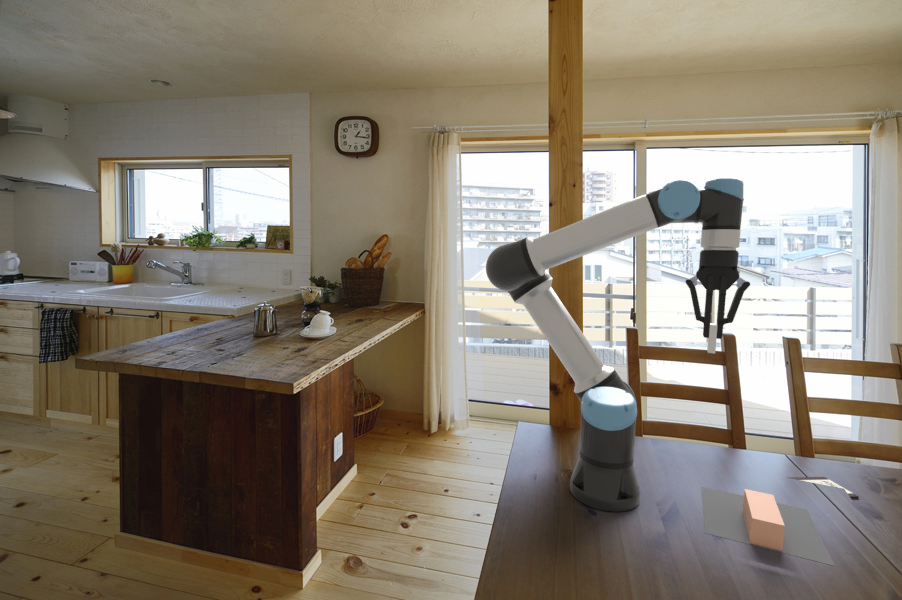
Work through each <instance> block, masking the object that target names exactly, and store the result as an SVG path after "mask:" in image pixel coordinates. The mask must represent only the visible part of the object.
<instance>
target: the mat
mask: <svg viewBox="0 0 902 600" xmlns="http://www.w3.org/2000/svg"><path fill="white" fill-rule="evenodd" d="M700 489H701V499H702V500H701V501H702V511H703V521H704V522H703V523H704V526H703V527H704V533H705V534H706V535H711V536H715V537H719V538H723V539H725V540H726V539H727V540H731V541H734V542H739V543H743V544H747V545H750V546H754V547H758V548H763V549H766V550H768V551H769V550H771V551H774V552H777V553H782V554H785V555H788V556H789V555H790V556H793V557H797V558H801V559H806V560H810V561H813V562H817V563H821V564H825V565H830V566H833V567H835V564H834V562H833V560H832V557H831V556H830V553H829V552H828V550H827V547H826V546H825V544H824V541H823V539H822V537H821V536H820V533H819V531H818V529H817V527H816V524H815V523H814V521H813V519H812V517H811V515H810V512H809V511H808V508H803V507H798V506H795V505H789V504H784V503H780V502H776V504H777V506H778V509H779V512H780V514H781V517H782V520H783V522H784V525H785V529H784V539H783V549H782V551H780V550H776V549H772V548H768V547H764V546H760V545H756V544H752V543H750V540H749V536H748V532H747V527H746V523H745V519H744V515H743V502H744V494H743V495H741V494H738V493H734V492H728V491H725V490H718V489H714V488H709V487H705V486H701V487H700Z"/></svg>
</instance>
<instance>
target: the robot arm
mask: <svg viewBox="0 0 902 600" xmlns="http://www.w3.org/2000/svg"><path fill="white" fill-rule="evenodd" d="M744 200H745V198H744V182H743V180H742V179H740V178H738V177H737V178H736V177H721V178H712V179H708V180H707V181H706V182H705V185H704V186H703V188H700V189H699V188H698V187H697V185H696V184H695V183H694V182H692V181H690V180H686V179H676V180H674V181H672V180H671V182H668V183H667V184H665V185H664V186H662V187H659V188H658V189H655V190H651V191H649V192H648V193H646V194H643V195H640V196H638V197H635V198H633V199H630V200H628V201H626V202H623V203H620V204H619V205H615V206H613V207H611V208H608V209H606V210H602V211H601V212H598V213H596V214H594V215H591V216H588V217H586V218H584V219H580V220H579V221H575V222H574V223H571V224H568V225H566V226H564V227H561V228H559V229H556V230H553V231H551V232H549V233H546V234H544V235H542V236H538V237H536V238H532V237H530V236H528V237H525V238H523V239H520V240H517V241H515V242H514V241H513V242H511V243H506V244H503V245H500V246H498V247H496V248H494V249H493V250H492V251H491V253H490V254H489V256H488V257H487V260H486V263H485V273H486V276H487V279H488V281H489V282H490V283H491V285H493V286H494V287H495V288H496V289H499V290H501V291H505V292H507V293H508V294H509V296H510V297H511V299H512V301H513V302H514V304H519V305H522V306H524V308H525V309H526V310H527V312H528V315H530V317H531V318H532V320H533V322H534V323H535V324H536V326H537V327H538V329H539V330H540V332H541V333H542V335H543V336H544V338H545V340H546V341H547V343H548V344H549V345H550V347H551V349H552V350H553V352H554V353H555V354H556V356H557V357H558V359H559V361H560V362H561V363H562V365H563V367H564V368H565V370H566V371H567V372H568V374H569V375H570V377H571V378H572V380H573V381H574V388H573V389H574V390H573V392H574V394H575V395H576V397H577V399H578V400H579V401H580V412H581V415H580V416H581V417H580V435H579V436H580V437H579V455H578V459H577V461H576V464H575V466H574V469H573V472H572V474H571V475H570V480H569V481H570V482H569V490H570V493H571V494H572V497H574V498H575V499H576V500H577V501H579V502H581V503H582V504H584V505H586V506H588V507H591V508H593V509H596V510H600V511H604V512H605V511H606V512H613V513H614V512H617V513H618V512H627V511H631V510H633V509H634V508H636V507H637V506H638V505H639V504H640V499H641V498H640V497H641V490H640V486H639V481H638V477H637V475H636V472H635V468H634V458H635V444H636V442H635V441H636V439H635V438H636V425H637V424H636V423H637V418H638V407H637V398H636V395H635V393H634V390H633V389H632V387H631V386H630V385H629V384H628V383H627V382H626V381H624V380H623V379H622V377H620V375H619V374H618V372H617V371H616V370H615V368H614V367H612V366H609V365H605V364H604V362H603V361H602V360H601V358H600V357H599V355H598V354H597V352H596V351H595V349H594V348H593V347H592V345H591V344H590V342H589V340H588V339H587V337H586V336H585V334H583V332H582V330H581V329H580V327H579V326H578V324H577V323H576V321H575V319H573V317H572V316H571V314H570V312H569V311H568V310H567V308H566V306H565V305H564V304H563V301H561V299H560V297H559V296H558V295H557V292H555V290H554V289H553V287H552V284H553V280H554V279H553V277H552V276H551V275H552V274H550V273H549V269H552V268H555V267H558V266H560V265H562V264H565V263H567V262H570V261H573V260H575V259H579V258H581V257H583V256H586V255H588V254H589V255H590V254H592V253H594V252H598V251H599V250H603V249H606V248H608V247H610V246H613V245H615V244H619V243H621V242H623V241H626V240H628V239H629V240H630V239H632V238H634V237H636V236H640V235H642V234H645V233H648V232H650V231H652V230H655V229H658V228H661V227H664V226H667V225H669V224H682V223H683V224H685V223H687V224H688V223H690V224H691V223H692V224H693V223H694V224H697V223H699V224H701V225H702V227H701V238H700V247H701V248H703V249H701V251H700V252H699V260H698V261H699V263H698V270H697V271H696V273H695V275H694V276H691V277H690V278H686V280H685V284H686V285H687V287H688V288H689V291H690V296H691V297H690V298H691V301H692V307H693V310H694V317H695V320H696V321H698V322H701V323H703V327H702V328H703V330H702V336H703V338H707V350H706V352H707V354H714V355H715V354H716V349H717V339H719V340H721V339H722V338H723V332H724V326H725V325H726V324H731V323H733V322H734V320H735V317H736V314H737V312H738V309H739V306H740V303H741V301H742V299H743V295H744V293H745V292H746V290H747V289H749V287H750V286H751V283H750V281H747V280H745V279H743V278H742V277H740V273H739V270H738V264H739V253H740V252H738V250H737V249H738V248H740V243H741V242H740V241H741V227H742V226H741V225H742V216H743V206H744ZM698 281H699V282H700V284H701V285H702V287H704V289H705V290H706V291H705V300H704V301H705V302H704V314H703V315H702V313H701V309H700V303H699V297H698V293H697V288H696V287H697V285H698ZM735 283H736V288H737V289H736V290H735V294H734V295H733V299H732V302H731V303H730V307H729V310H728V312H727V314H726V317H725V313H726V312H725V311H726V310H725V309H726V297H727V291H728V290H729V289H730V288H731V287H732V286H733V285H734V284H735ZM714 291H718V300H717V310H716V311H717V312H716V323H713V322H711V319H712V317H711V316H712V308H713V307H712V305H713V295H714Z"/></svg>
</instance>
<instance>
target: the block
mask: <svg viewBox="0 0 902 600" xmlns="http://www.w3.org/2000/svg"><path fill="white" fill-rule="evenodd" d="M743 491H744V493H743V496H744V502H743V515H744V519H745V523H746V527H747V532H748V536H749V540H750V543H752V544H756V545H760V546H764V547H768V548H772V549H776V550H780V551H782V549H783V539H784V529H785V525H784V522H783V520H782V517H781V514H780V512H779V509H778V506H777V504H776V503H777V501H776V498H775V496H774V494H770V493H766V492H761V491H756V490H751V489H747V488H746V489H745V488H744V490H743Z"/></svg>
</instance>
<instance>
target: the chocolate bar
mask: <svg viewBox="0 0 902 600" xmlns="http://www.w3.org/2000/svg"><path fill="white" fill-rule="evenodd" d="M786 479H792V480H797V481H803V482H807V483H812V484H818V485H821V486H828V487H834V488H838V489H843V490H844V491H845V492H846V493H847V495H848V496H849V498H850V500H853V499H854V500H855V499H856V500H857V499H858V500H859V495H857V494H855V493H854V492H852V491H850V490H848V489H846V488H845V487H843V486H841V485H839V484H838V483H836V482H834V481H833V480H831V479H829V478H827V477H826V476H803V477H802V476H801V477H800V476H798V477H797V476H796V477H795V476H794V477H793V476H791V477H786Z"/></svg>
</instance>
